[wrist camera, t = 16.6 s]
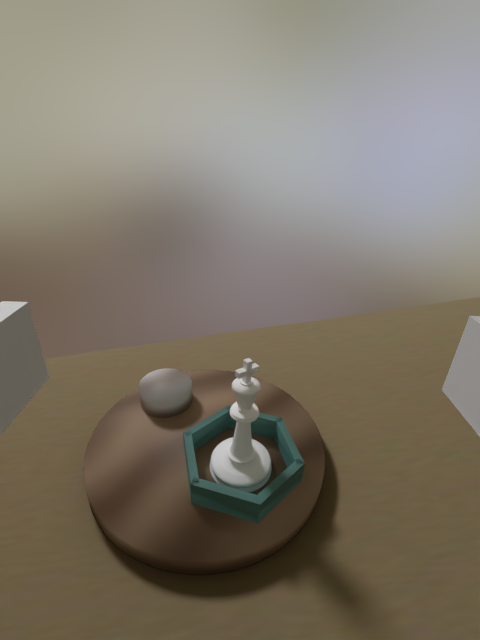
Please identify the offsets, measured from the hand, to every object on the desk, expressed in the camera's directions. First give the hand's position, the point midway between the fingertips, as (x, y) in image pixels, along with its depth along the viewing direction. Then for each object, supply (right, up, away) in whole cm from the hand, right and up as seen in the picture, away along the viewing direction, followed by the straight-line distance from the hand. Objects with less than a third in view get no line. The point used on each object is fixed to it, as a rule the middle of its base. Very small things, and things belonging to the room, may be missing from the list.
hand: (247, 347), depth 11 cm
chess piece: (0, -11, +17) cm, 20 cm away
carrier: (-3, -11, +20) cm, 23 cm away
